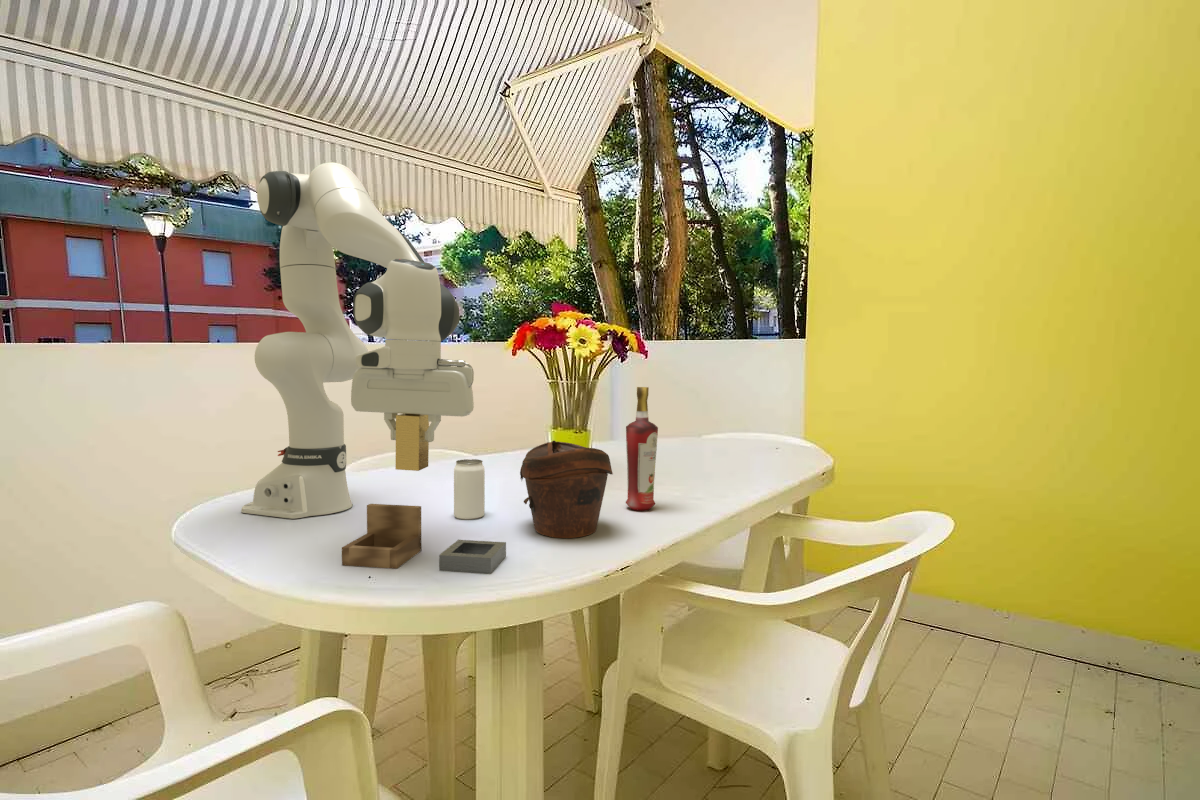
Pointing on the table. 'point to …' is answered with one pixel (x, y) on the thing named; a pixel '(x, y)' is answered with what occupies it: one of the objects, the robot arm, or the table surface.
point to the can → (469, 489)
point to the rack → (386, 537)
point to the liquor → (641, 456)
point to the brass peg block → (411, 442)
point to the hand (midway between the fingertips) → (412, 440)
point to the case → (565, 488)
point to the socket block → (472, 556)
